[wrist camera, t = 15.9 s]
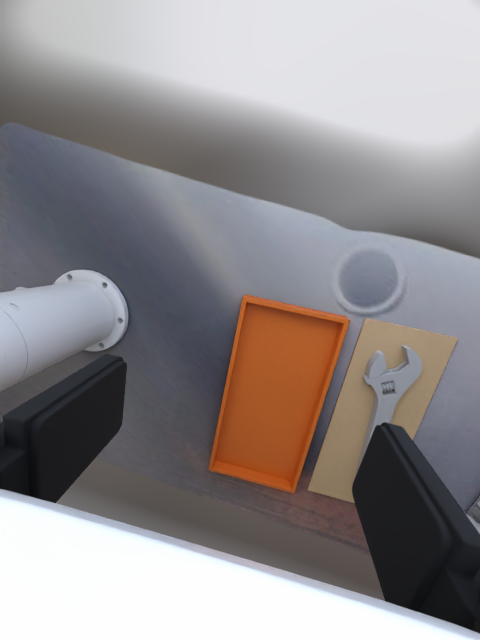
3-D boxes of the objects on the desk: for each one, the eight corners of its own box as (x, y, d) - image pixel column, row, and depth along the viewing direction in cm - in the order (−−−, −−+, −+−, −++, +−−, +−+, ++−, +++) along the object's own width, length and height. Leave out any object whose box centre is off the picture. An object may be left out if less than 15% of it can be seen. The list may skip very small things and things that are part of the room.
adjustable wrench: (368, 493, 42) (372, 503, 41) (327, 483, 43) (330, 493, 41) (421, 349, 36) (428, 354, 34) (372, 340, 36) (377, 344, 34)
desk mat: (307, 488, 44) (307, 490, 44) (365, 317, 36) (365, 318, 36) (380, 508, 43) (381, 510, 43) (457, 337, 35) (458, 338, 35)
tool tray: (211, 460, 45) (208, 470, 43) (244, 294, 37) (243, 296, 35) (293, 483, 44) (294, 493, 42) (346, 316, 36) (350, 320, 34)
